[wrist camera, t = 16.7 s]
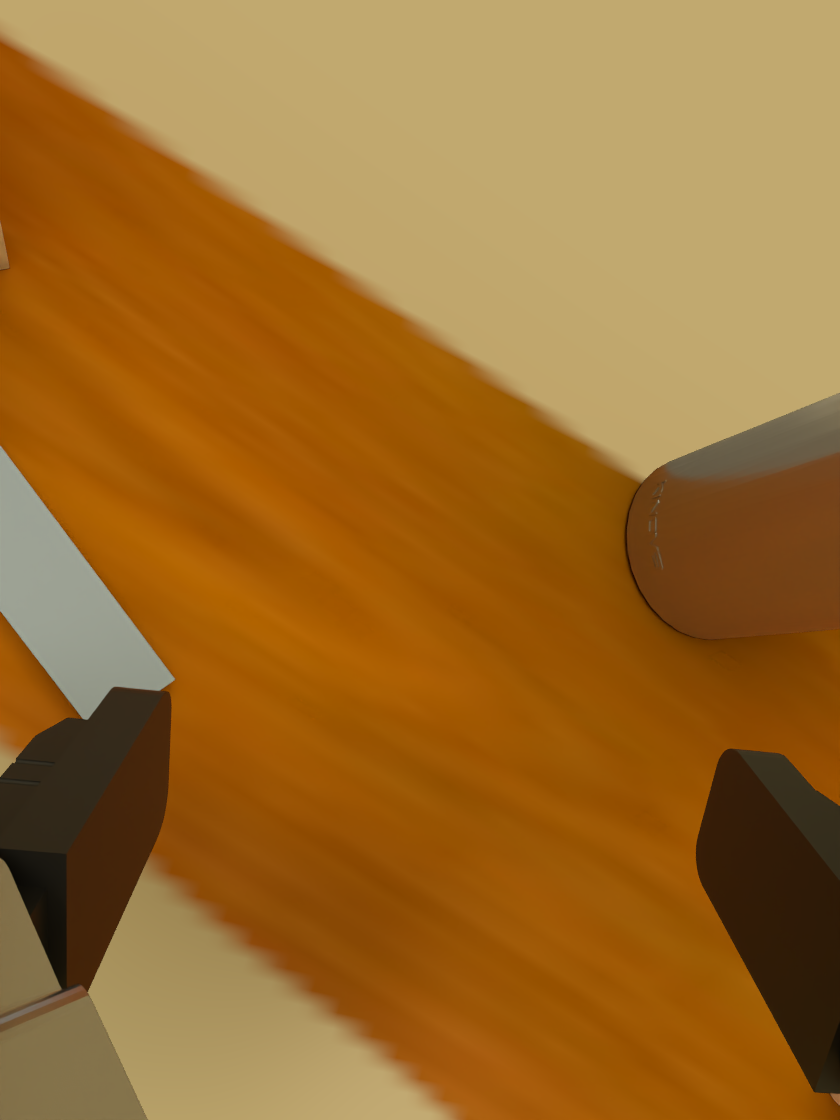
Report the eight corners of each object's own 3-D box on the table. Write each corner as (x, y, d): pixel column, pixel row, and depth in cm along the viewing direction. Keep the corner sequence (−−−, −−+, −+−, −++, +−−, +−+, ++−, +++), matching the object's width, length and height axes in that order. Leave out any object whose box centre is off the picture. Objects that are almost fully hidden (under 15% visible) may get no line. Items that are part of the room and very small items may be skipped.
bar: (-77, 355, 28) (-95, 319, 26) (167, 681, 30) (175, 679, 27) (-163, 395, 27) (-191, 361, 24) (96, 732, 28) (96, 736, 26)
